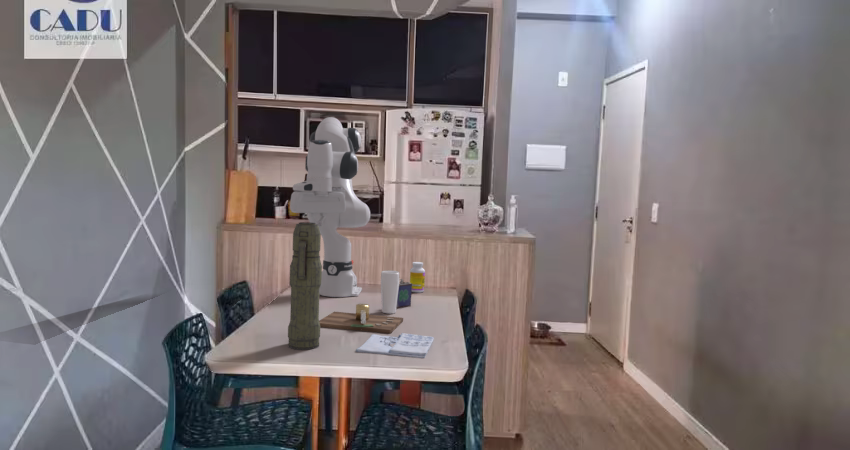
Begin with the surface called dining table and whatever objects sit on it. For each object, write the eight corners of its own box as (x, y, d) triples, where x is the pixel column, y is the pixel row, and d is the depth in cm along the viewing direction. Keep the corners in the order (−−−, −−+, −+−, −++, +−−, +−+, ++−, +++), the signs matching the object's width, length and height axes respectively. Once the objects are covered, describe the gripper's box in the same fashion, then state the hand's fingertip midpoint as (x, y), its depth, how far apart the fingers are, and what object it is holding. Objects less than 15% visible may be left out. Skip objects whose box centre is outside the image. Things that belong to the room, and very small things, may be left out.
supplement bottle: (424, 293, 245) (425, 264, 244) (408, 292, 245) (410, 263, 244) (424, 290, 252) (425, 261, 251) (409, 289, 252) (410, 261, 251)
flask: (394, 309, 212) (395, 280, 211) (389, 307, 214) (390, 279, 213) (412, 306, 218) (413, 278, 218) (407, 304, 220) (408, 277, 220)
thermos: (284, 351, 154) (288, 223, 151) (290, 339, 165) (293, 221, 163) (317, 351, 155) (321, 225, 152) (321, 339, 166) (324, 222, 164)
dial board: (334, 314, 198) (334, 310, 198) (403, 321, 193) (403, 316, 193) (315, 326, 181) (315, 322, 181) (390, 334, 176) (390, 329, 176)
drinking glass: (395, 315, 202) (397, 273, 201) (377, 313, 203) (378, 272, 202) (400, 311, 208) (401, 271, 207) (382, 309, 210) (384, 269, 209)
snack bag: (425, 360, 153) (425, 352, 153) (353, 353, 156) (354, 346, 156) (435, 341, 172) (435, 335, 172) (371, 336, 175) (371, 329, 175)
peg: (355, 317, 191) (356, 303, 190) (368, 317, 191) (369, 303, 191) (356, 326, 179) (356, 311, 179) (370, 326, 180) (370, 311, 180)
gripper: (340, 187, 205) (339, 224, 206) (288, 185, 192) (287, 225, 193) (349, 187, 200) (348, 226, 201) (296, 185, 188) (295, 227, 189)
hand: (318, 225), depth 197 cm, fingers closed
